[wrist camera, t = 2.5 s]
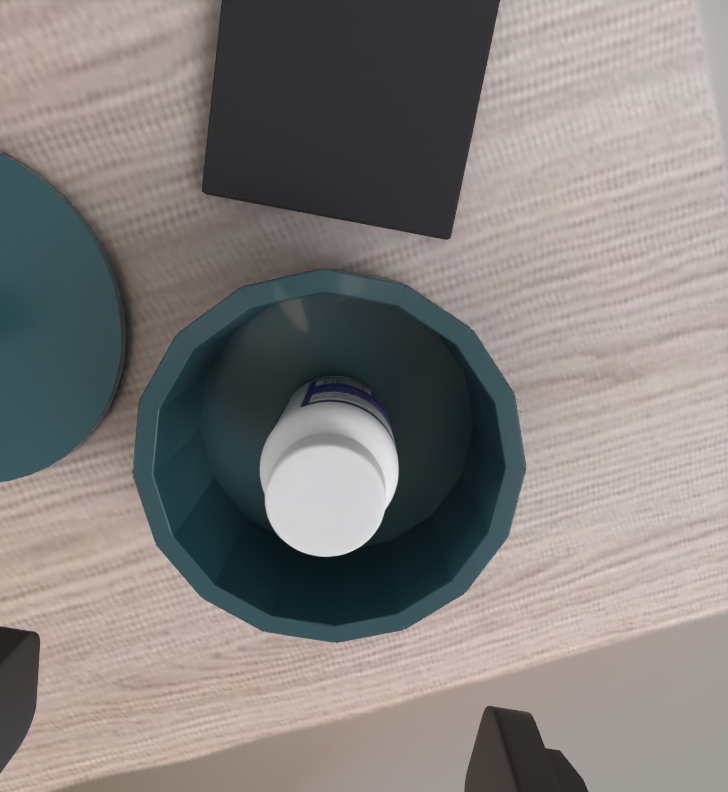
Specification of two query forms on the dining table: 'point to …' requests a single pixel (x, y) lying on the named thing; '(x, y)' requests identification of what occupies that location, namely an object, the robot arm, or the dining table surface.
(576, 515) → the dining table surface
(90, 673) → the dining table surface
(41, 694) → the dining table surface
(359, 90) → the plate
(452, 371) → the pot
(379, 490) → the pill bottle
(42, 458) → the pot lid
